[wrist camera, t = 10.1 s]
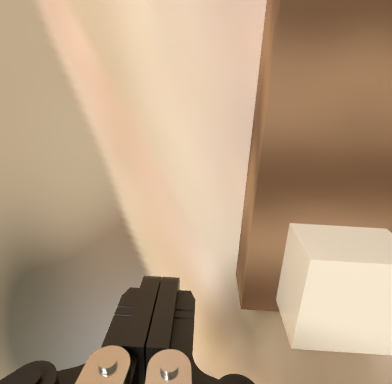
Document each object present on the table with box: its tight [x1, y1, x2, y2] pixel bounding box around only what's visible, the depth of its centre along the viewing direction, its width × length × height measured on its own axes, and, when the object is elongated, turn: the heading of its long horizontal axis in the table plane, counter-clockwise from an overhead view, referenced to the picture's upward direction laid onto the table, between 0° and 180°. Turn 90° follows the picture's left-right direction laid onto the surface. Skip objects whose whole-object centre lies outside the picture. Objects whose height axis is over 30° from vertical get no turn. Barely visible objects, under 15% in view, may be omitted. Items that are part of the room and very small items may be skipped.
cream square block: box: [276, 223, 392, 355], centre depth 13 cm, size 4×4×3 cm
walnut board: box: [236, 0, 392, 311], centre depth 14 cm, size 16×10×3 cm, turn 177°
